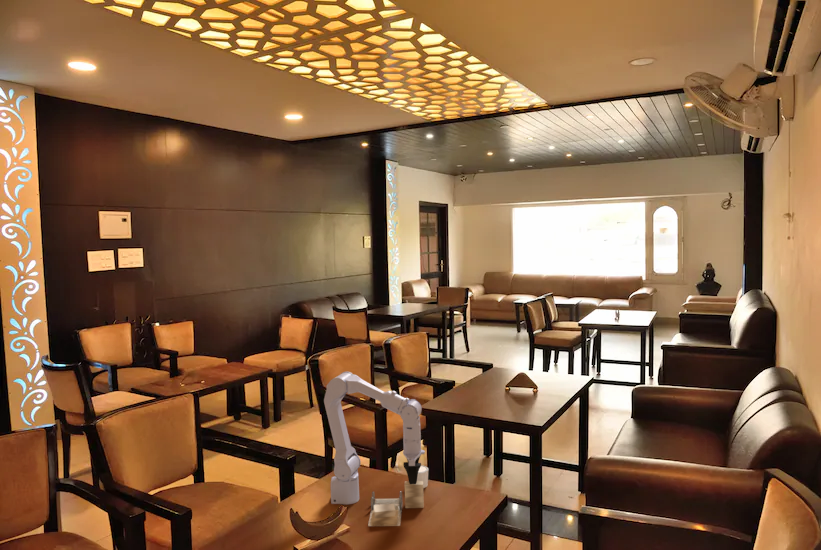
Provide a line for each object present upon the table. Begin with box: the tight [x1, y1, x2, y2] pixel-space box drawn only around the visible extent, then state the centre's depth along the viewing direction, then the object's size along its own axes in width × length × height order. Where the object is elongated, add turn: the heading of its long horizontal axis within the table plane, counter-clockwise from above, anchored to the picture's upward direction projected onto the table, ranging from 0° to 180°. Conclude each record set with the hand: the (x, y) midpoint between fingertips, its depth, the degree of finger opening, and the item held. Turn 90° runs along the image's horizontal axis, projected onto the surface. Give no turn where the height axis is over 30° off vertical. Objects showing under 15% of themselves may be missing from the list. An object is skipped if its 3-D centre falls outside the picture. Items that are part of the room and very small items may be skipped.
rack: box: [367, 490, 403, 527], centre depth 178 cm, size 10×16×5 cm, turn 178°
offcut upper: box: [374, 504, 396, 518], centre depth 174 cm, size 6×4×2 cm
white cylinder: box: [417, 465, 429, 489], centre depth 198 cm, size 7×7×7 cm
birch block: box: [404, 480, 425, 509], centre depth 183 cm, size 6×3×8 cm, turn 88°
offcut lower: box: [371, 510, 398, 524], centre depth 174 cm, size 8×5×2 cm, turn 88°
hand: (413, 478), depth 182 cm, fingers open, 7 cm apart
